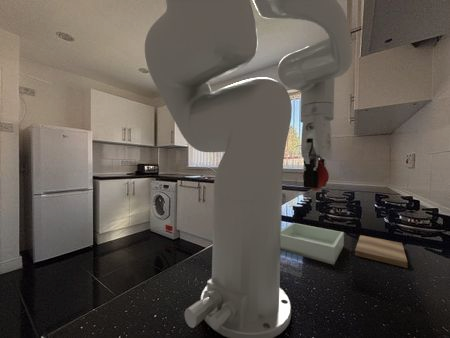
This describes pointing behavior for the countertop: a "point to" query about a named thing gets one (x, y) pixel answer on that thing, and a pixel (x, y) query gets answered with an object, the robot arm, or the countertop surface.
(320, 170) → the onion
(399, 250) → the board
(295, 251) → the bin
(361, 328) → the countertop surface
